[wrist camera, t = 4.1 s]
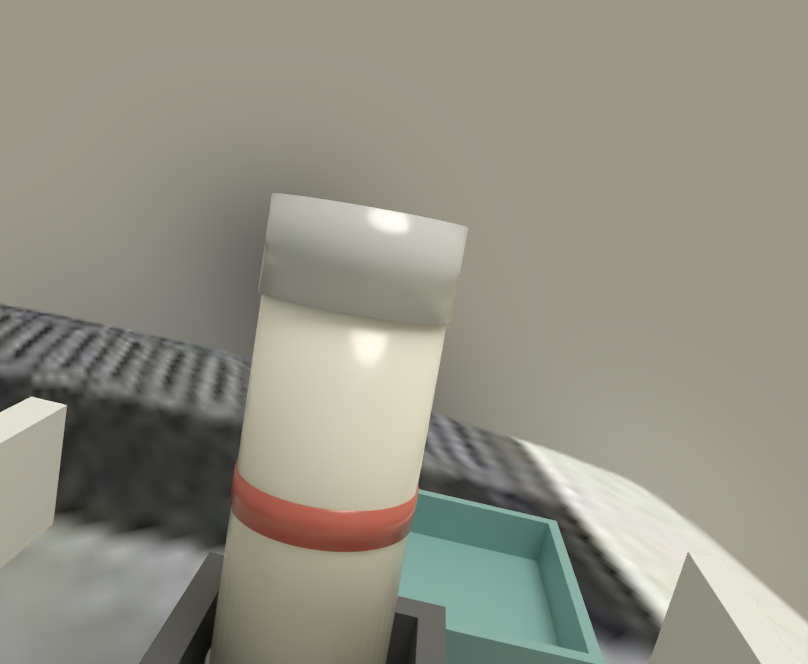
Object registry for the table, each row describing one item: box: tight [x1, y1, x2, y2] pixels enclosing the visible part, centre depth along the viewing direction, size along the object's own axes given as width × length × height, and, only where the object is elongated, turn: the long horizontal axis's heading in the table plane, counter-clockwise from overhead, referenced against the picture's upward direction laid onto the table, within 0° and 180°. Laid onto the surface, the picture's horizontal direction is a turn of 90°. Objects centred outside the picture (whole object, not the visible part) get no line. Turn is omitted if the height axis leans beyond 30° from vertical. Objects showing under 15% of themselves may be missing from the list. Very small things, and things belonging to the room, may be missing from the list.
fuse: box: [205, 193, 468, 664], centre depth 18 cm, size 5×5×15 cm
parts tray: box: [398, 489, 605, 664], centre depth 31 cm, size 11×11×3 cm
